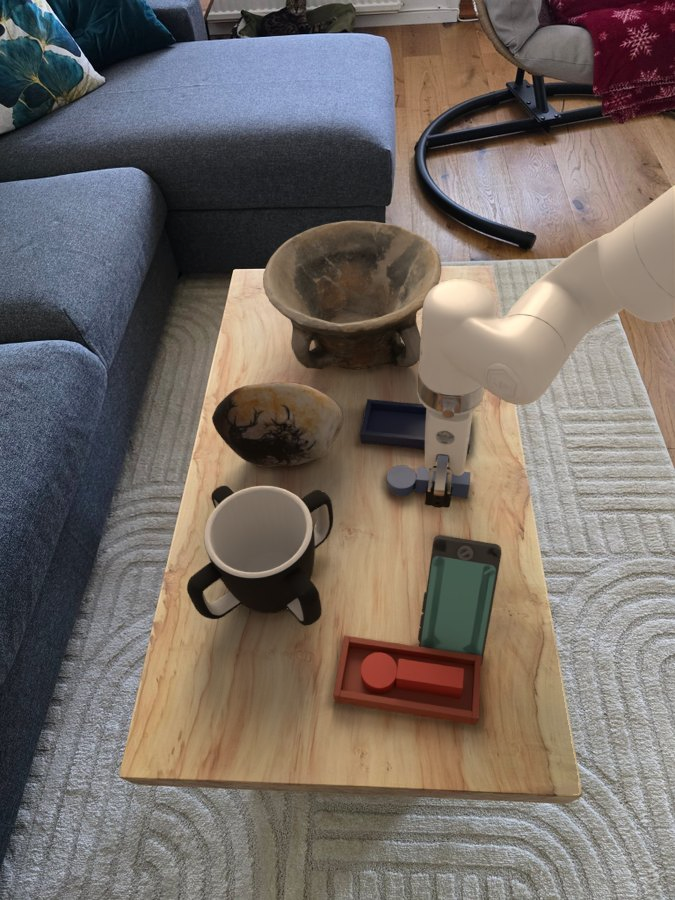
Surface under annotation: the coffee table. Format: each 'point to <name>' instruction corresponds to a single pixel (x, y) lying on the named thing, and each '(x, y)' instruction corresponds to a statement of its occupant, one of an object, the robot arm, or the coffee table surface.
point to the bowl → (353, 293)
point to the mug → (263, 552)
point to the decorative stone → (278, 423)
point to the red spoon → (410, 676)
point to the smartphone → (459, 595)
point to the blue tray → (395, 424)
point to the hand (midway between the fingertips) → (440, 474)
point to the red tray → (407, 701)
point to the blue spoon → (422, 481)
